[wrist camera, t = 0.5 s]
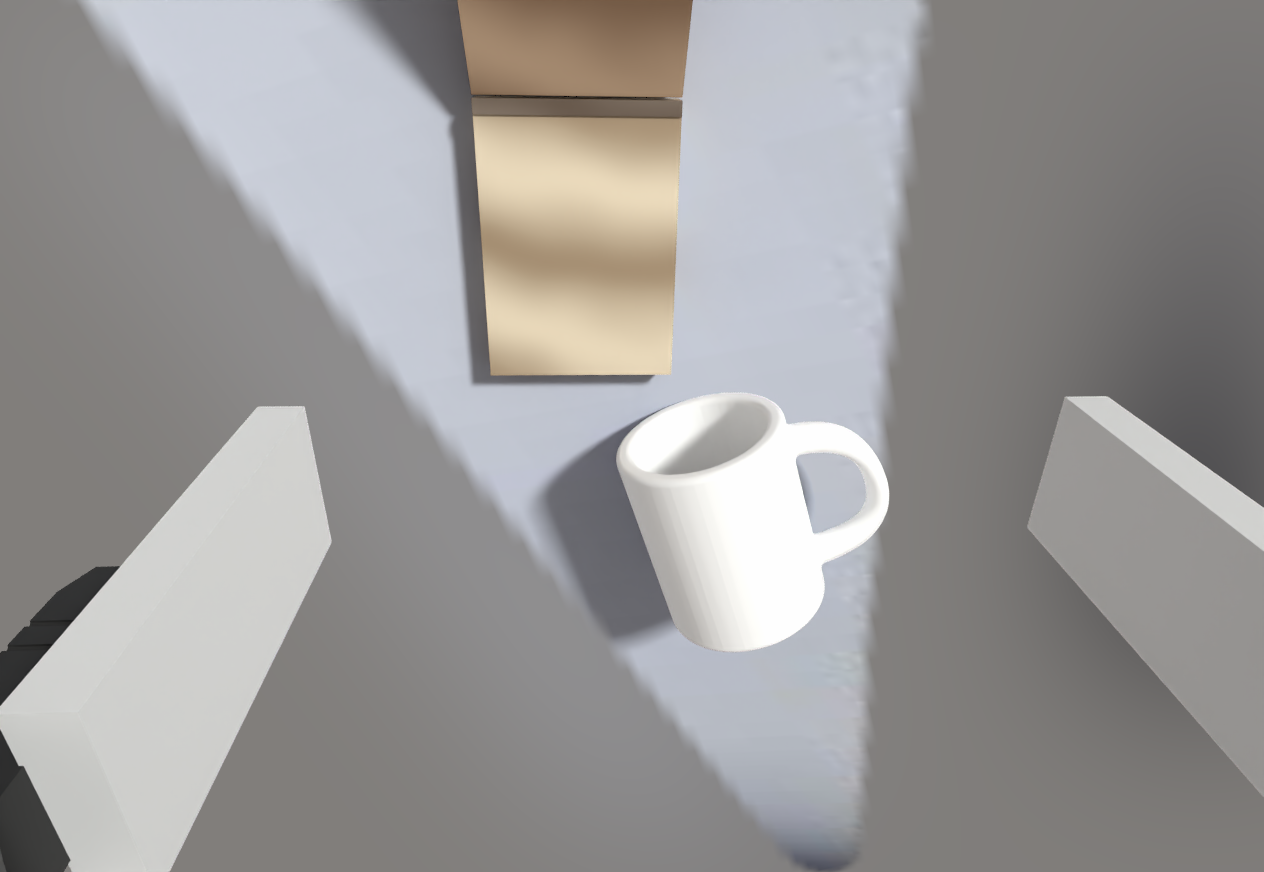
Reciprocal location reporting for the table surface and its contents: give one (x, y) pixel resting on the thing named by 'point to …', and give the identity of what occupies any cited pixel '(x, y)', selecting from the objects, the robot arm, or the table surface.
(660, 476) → the mug
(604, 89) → the plank
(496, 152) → the floorboard
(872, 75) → the table surface
